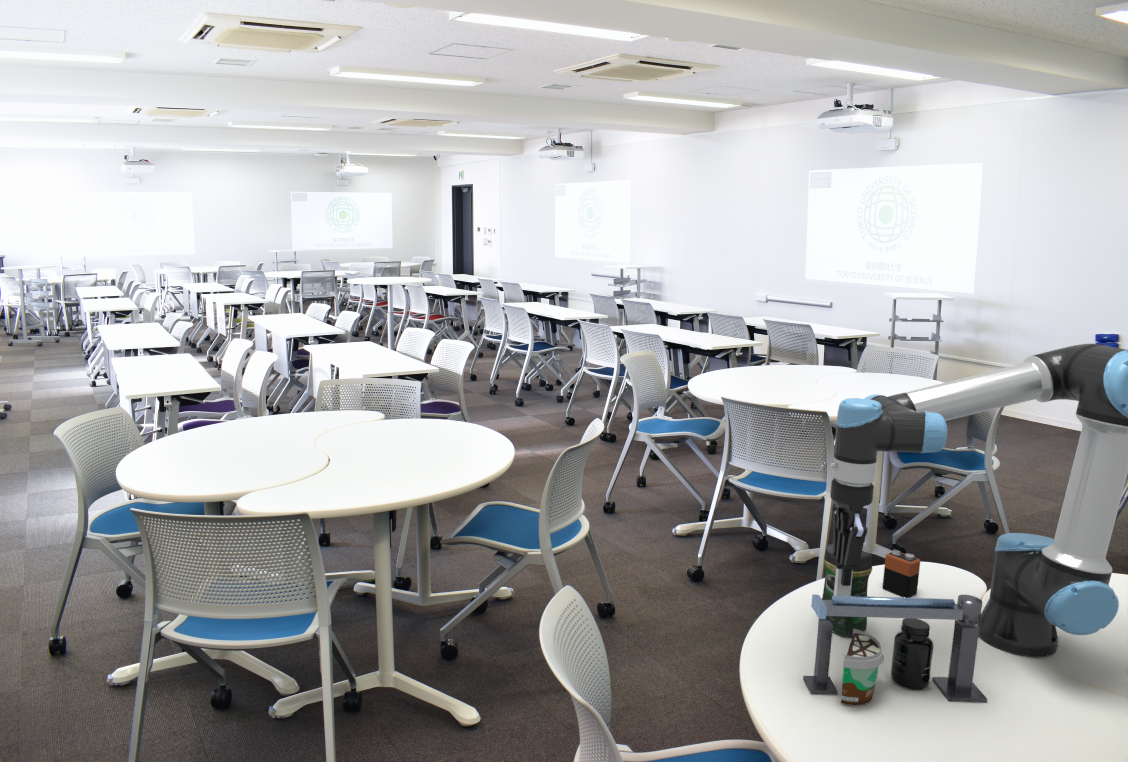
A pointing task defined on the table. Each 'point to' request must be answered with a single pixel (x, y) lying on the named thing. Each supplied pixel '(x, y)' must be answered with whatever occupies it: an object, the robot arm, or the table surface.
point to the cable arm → (900, 608)
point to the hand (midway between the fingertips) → (841, 598)
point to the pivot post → (961, 667)
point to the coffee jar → (858, 588)
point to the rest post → (822, 663)
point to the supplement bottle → (912, 655)
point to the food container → (861, 669)
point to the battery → (901, 574)
